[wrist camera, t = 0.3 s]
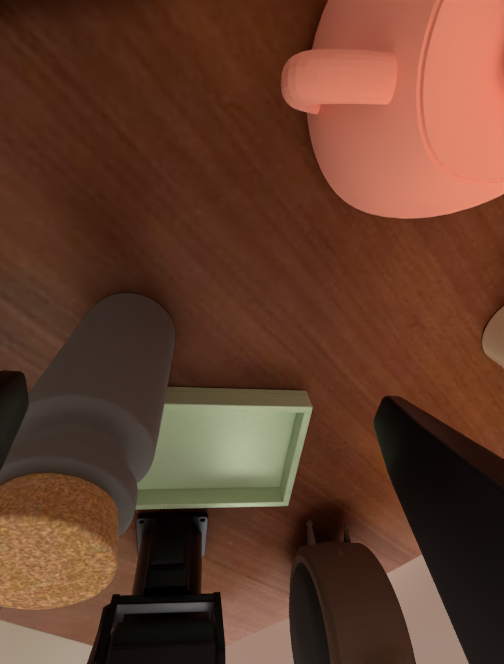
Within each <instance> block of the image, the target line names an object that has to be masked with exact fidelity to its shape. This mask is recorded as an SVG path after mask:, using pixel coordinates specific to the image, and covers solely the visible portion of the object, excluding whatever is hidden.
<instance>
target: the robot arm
mask: <svg viewBox="0 0 504 664" xmlns="http://www.w3.org/2000/svg"><path fill="white" fill-rule="evenodd" d="M28 405H29V398H28V392H27V385H26V379H25V376H24V374H23V373H22V372H20V371H6V370H4V371H0V471H1V469H2V467H3V464H4V462H5V460H6V458H7V456H8V453H9V451H10V449H11V446H12V444H13V442H14V440H15V437H16V435H17V433H18V431H19V428H20V426H21V424H22V421H23V419H24V417H25V415H26V412H27V410H28ZM374 429H375V432H376V436H377V439H378V442H379V445H380V448H381V452H382V455H383V458H384V461H385V464H386V468H387V471H388V474H389V476H390V479H391V482H392V484H393V487H394V489H395V491H396V494H397V496H398V499H399V501H400V503H401V506H402V508H403V510H404V513H405V515H406V517H407V520H408V522H409V524H410V527H411V529H412V531H413V534H414V536H415V538H416V541H417V543H418V545H419V548H420V550H421V552H422V555H423V557H424V559H425V562H426V564H427V566H428V569H429V571H430V573H431V576H432V578H433V581H434V583H435V585H436V587H437V590H438V592H439V594H440V597H441V599H442V602H443V604H444V606H445V609H446V611H447V613H448V616H449V618H450V620H451V623H452V625H453V627H454V630H455V632H456V634H457V637H458V639H459V641H460V644H461V646H462V648H463V651H464V653H465V655H466V658H467V660H468V663H469V664H504V459H503V458H501V457H499V456H498V455H496V454H494V453H493V452H491V451H489V450H488V449H486V448H484V447H483V446H481V445H479V444H478V443H476V442H474V441H473V440H471V439H469V438H468V437H466V436H464V435H463V434H461V433H459V432H458V431H456V430H454V429H453V428H451V427H449V426H448V425H446V424H445V423H443V422H441V421H440V420H438V419H436V418H435V417H433V416H431V415H430V414H428V413H426V412H425V411H423V410H421V409H420V408H418V407H416V406H415V405H413V404H411V403H410V402H408V401H406V400H405V399H403V398H401V397H399V396H385V397H384V398H383V399H382V401H381V403H380V405H379V408H378V410H377V413H376V415H375V418H374ZM207 525H208V515H207V514H206V513H173V514H141V515H138V516H137V520H136V530H137V549H138V562H137V568H136V574H135V579H134V585H133V591H132V595H124V596H120V594H113V596H112V600H111V603H110V604H109V605H107V606H105V607H103V611H102V616H101V620H100V624H99V629H98V632H97V636H96V639H95V642H94V645H93V648H92V651H91V654H90V656H89V660H88V662H87V664H225V639H224V628H223V617H222V606H221V596H220V592H214V593H212V594H201V574H202V557H203V556H204V555H205V546H206V535H207Z"/></svg>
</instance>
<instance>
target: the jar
mask: <svg viewBox="0 0 504 664" xmlns="http://www.w3.org/2000/svg"><path fill="white" fill-rule="evenodd" d="M482 346H483V350H484V352H485V354H486V355H487V356H488V357H489V358H490V359H491V360H493V361H494V362H495V363H497V364H498V365H499V366H501V367H502V368H503V369H504V306H503V307H502V308H501V309H499V310H498V311H497V312H496V313H495V314H494V316H493V317H492V318H491V319H490V321H489V322H488V324H487V326H486V328H485V330H484V333H483V337H482Z"/></svg>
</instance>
